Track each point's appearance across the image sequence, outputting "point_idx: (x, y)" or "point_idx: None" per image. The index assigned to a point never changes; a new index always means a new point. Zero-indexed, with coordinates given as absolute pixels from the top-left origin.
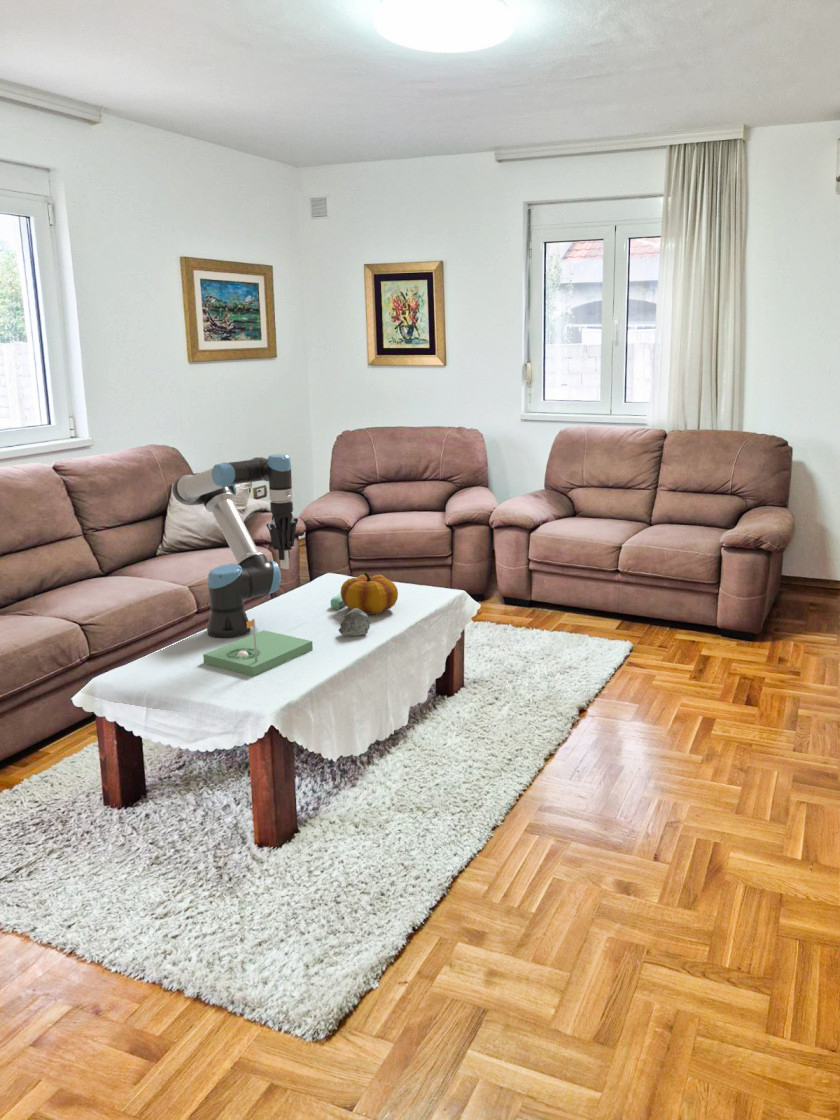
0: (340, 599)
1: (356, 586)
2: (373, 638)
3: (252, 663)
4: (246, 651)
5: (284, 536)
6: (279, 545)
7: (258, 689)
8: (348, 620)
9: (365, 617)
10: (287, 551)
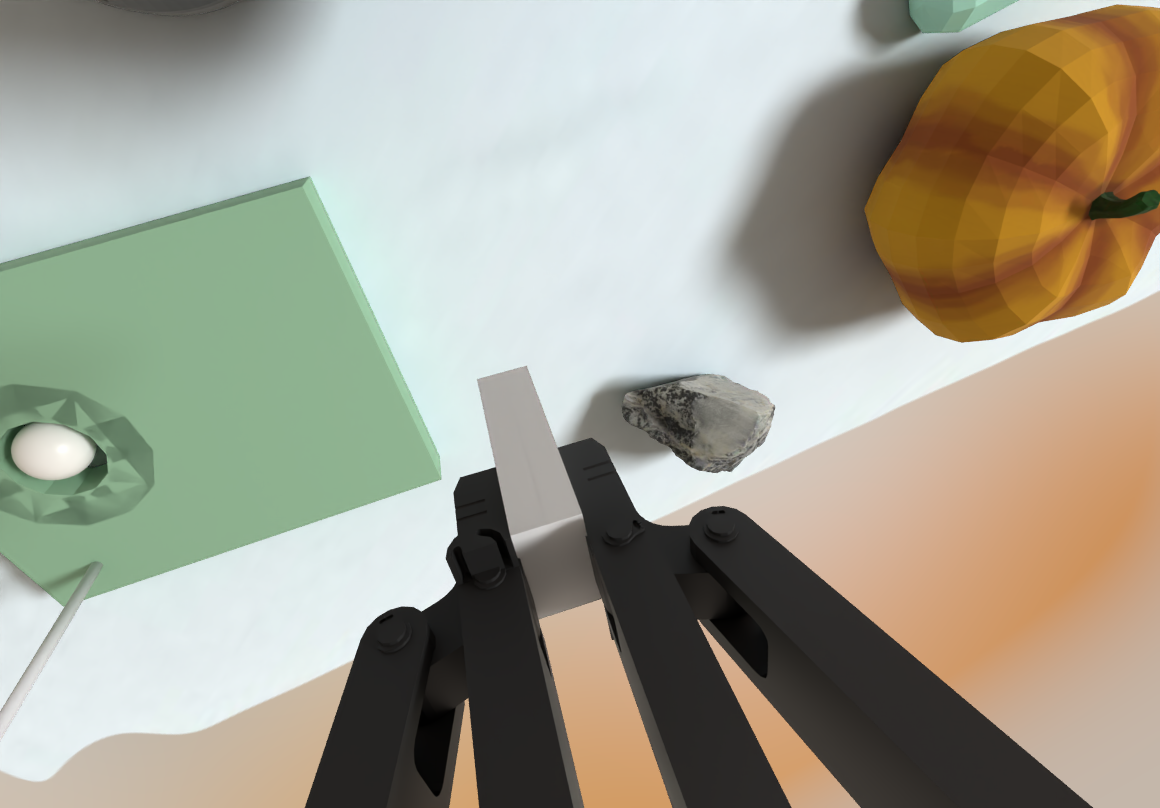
0: (969, 20)
1: (981, 251)
2: (682, 473)
3: (71, 574)
4: (83, 431)
5: (671, 788)
6: (432, 767)
7: (68, 670)
8: (668, 445)
9: (728, 470)
10: (580, 589)
